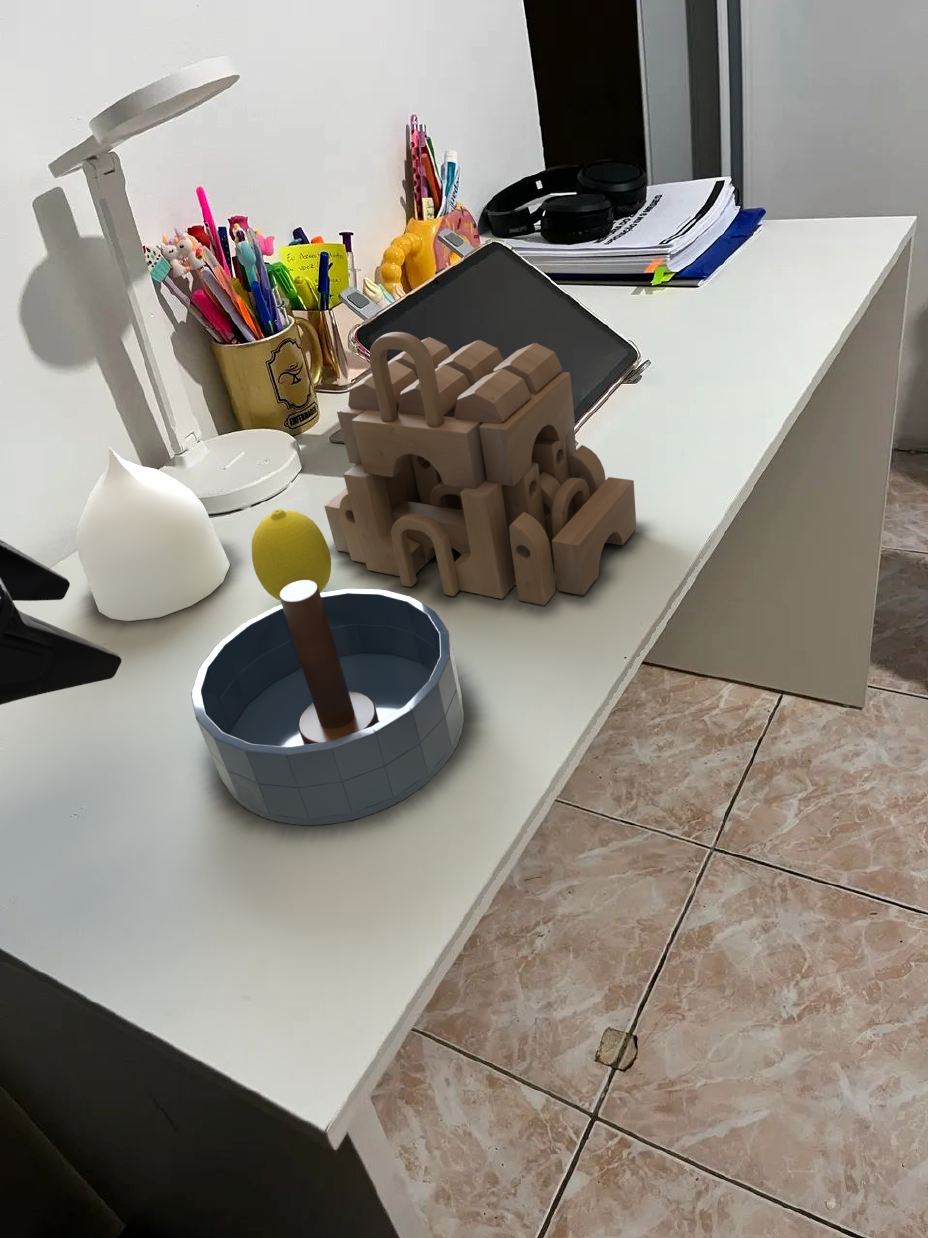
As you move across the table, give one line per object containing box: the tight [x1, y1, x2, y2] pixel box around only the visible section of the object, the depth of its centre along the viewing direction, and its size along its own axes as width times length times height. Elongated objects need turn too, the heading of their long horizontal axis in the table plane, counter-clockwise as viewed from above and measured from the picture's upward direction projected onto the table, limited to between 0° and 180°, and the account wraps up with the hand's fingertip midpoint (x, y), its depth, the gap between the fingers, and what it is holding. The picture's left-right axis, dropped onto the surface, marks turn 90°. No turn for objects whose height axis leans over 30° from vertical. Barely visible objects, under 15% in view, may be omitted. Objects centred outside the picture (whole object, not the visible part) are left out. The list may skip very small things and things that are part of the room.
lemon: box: [251, 508, 332, 601], centre depth 69 cm, size 6×6×8 cm
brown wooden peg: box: [279, 580, 378, 745], centre depth 55 cm, size 5×5×10 cm
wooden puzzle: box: [323, 331, 637, 606], centre depth 69 cm, size 22×15×19 cm, turn 59°
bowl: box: [190, 588, 464, 826], centre depth 57 cm, size 15×15×6 cm
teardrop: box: [76, 446, 231, 622], centre depth 74 cm, size 11×11×12 cm
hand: (90, 625), depth 47 cm, fingers open, 9 cm apart
